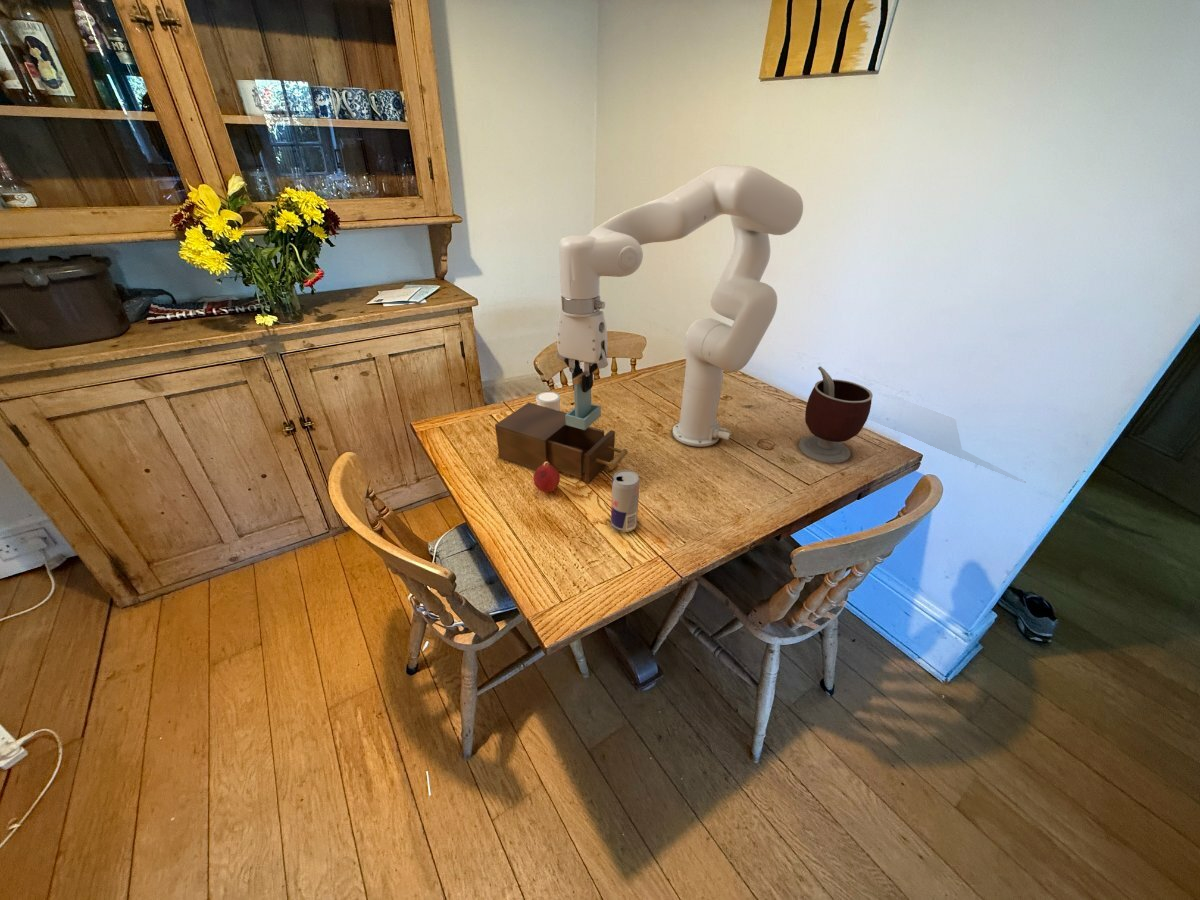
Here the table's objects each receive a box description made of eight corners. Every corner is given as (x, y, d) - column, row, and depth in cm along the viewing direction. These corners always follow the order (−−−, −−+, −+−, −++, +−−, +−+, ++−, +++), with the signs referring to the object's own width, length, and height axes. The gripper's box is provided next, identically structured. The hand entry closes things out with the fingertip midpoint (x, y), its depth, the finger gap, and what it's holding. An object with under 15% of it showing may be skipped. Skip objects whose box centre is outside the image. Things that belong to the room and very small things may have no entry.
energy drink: (609, 516, 97) (610, 470, 91) (634, 515, 98) (637, 468, 91) (612, 533, 93) (613, 486, 86) (638, 532, 93) (642, 485, 87)
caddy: (600, 415, 107) (600, 369, 101) (584, 430, 102) (583, 382, 95) (582, 411, 109) (581, 365, 103) (565, 425, 104) (563, 377, 97)
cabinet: (577, 448, 120) (576, 415, 114) (547, 474, 110) (545, 440, 104) (531, 433, 126) (528, 402, 120) (499, 457, 115) (494, 424, 110)
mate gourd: (865, 458, 117) (893, 386, 106) (823, 469, 112) (848, 395, 101) (819, 429, 129) (840, 362, 118) (780, 439, 124) (798, 370, 113)
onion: (549, 502, 101) (547, 473, 96) (529, 494, 103) (526, 464, 99) (565, 489, 105) (564, 460, 101) (545, 480, 107) (543, 452, 103)
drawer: (632, 463, 112) (633, 436, 108) (608, 490, 103) (608, 462, 99) (568, 443, 120) (567, 417, 115) (540, 467, 110) (538, 439, 106)
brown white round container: (557, 425, 130) (556, 403, 126) (534, 422, 131) (532, 400, 127) (563, 414, 135) (563, 392, 131) (541, 411, 136) (540, 390, 133)
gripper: (624, 304, 91) (622, 389, 101) (557, 295, 97) (561, 375, 107) (606, 315, 85) (606, 403, 95) (537, 303, 92) (543, 388, 102)
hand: (582, 388), depth 101 cm, fingers closed on caddy
